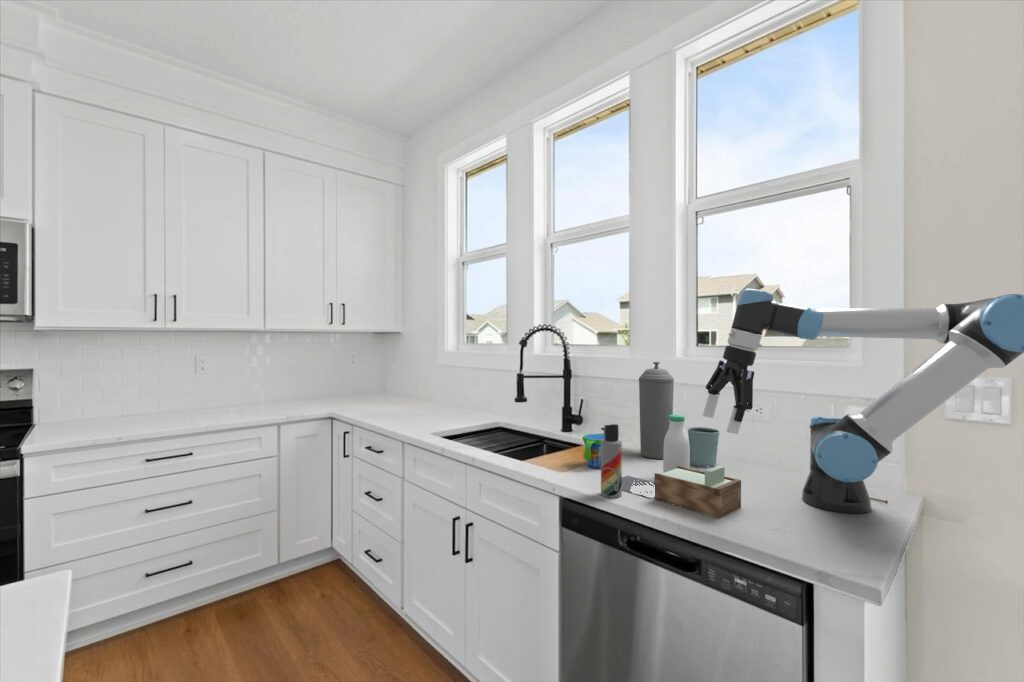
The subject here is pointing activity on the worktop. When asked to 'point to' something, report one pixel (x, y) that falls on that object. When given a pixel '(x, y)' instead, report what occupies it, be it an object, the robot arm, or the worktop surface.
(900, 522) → the worktop surface
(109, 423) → the worktop surface
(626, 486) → the mat
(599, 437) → the snack cup
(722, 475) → the lid
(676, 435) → the milk bottle
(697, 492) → the walnut box
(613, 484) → the lotion bottle
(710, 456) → the teal cup
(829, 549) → the worktop surface
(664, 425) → the canister
